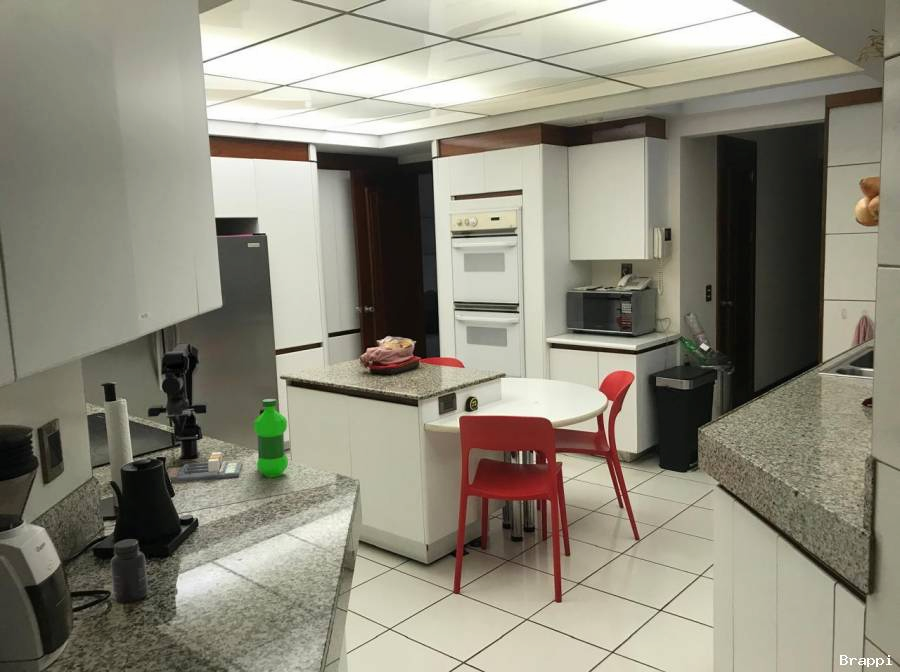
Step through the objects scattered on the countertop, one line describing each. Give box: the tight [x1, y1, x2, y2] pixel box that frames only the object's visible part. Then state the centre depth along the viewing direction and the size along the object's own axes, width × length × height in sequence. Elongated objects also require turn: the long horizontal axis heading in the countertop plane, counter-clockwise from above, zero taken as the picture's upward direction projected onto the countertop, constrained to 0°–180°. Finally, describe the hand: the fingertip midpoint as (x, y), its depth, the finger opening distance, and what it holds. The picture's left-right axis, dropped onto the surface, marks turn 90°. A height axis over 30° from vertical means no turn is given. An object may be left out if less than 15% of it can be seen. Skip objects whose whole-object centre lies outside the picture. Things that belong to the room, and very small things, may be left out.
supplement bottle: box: [109, 538, 149, 604], centre depth 154 cm, size 7×7×12 cm
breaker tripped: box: [208, 455, 221, 468], centre depth 241 cm, size 3×3×4 cm
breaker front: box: [207, 458, 219, 473], centre depth 237 cm, size 3×3×4 cm
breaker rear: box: [210, 451, 223, 466], centre depth 245 cm, size 3×3×4 cm
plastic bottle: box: [253, 398, 289, 478], centre depth 236 cm, size 10×10×25 cm
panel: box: [166, 460, 243, 483], centre depth 240 cm, size 13×24×2 cm, turn 101°
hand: (180, 434), depth 246 cm, fingers closed
